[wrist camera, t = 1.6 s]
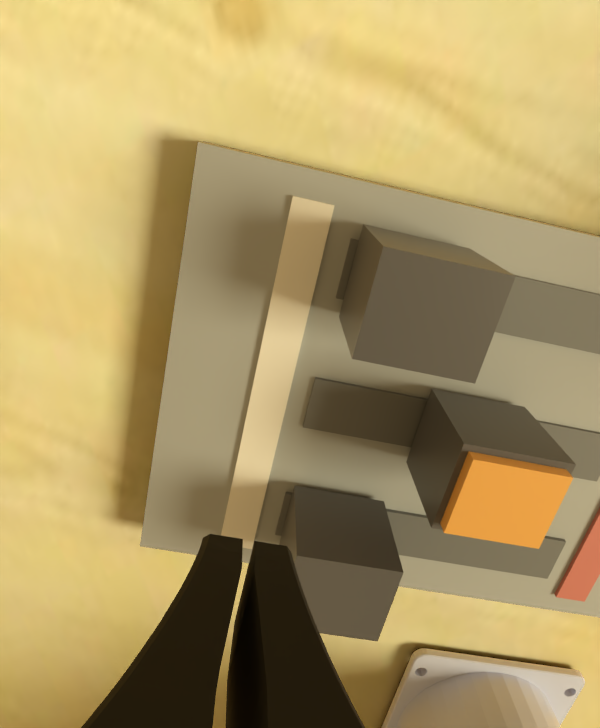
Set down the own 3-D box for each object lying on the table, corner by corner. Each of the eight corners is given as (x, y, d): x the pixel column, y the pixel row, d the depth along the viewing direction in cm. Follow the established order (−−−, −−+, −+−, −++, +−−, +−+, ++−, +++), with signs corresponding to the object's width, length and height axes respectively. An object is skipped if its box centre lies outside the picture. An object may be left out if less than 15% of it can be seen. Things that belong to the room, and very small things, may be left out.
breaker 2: (439, 337, 17) (475, 383, 14) (338, 316, 17) (351, 359, 13) (469, 248, 16) (515, 276, 13) (363, 224, 16) (383, 246, 12)
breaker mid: (494, 477, 19) (542, 555, 15) (405, 461, 19) (434, 537, 15) (524, 406, 18) (583, 473, 14) (431, 388, 18) (468, 451, 14)
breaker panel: (621, 600, 23) (640, 626, 22) (147, 524, 21) (138, 549, 20) (805, 284, 18) (844, 295, 17) (204, 141, 16) (197, 142, 15)
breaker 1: (362, 562, 20) (377, 641, 17) (277, 549, 20) (276, 626, 17) (383, 501, 19) (403, 572, 16) (294, 485, 19) (296, 555, 16)
